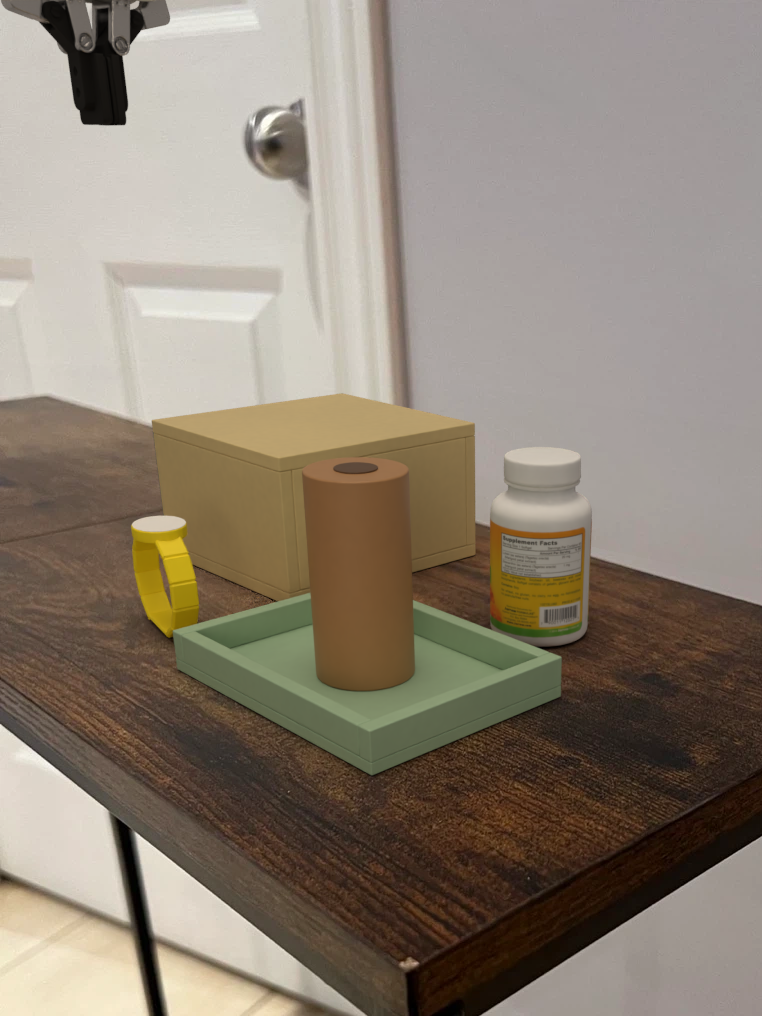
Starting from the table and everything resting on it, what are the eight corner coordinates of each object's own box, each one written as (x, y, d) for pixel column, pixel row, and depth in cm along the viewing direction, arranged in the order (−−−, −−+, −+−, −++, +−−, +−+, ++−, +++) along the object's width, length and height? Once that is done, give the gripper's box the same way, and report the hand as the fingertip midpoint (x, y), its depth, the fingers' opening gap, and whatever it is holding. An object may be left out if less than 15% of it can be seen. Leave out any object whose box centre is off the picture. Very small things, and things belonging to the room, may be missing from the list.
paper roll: (305, 689, 54) (289, 478, 50) (329, 651, 59) (316, 453, 54) (405, 694, 54) (398, 482, 50) (422, 655, 58) (417, 457, 54)
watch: (127, 617, 64) (112, 512, 61) (175, 607, 65) (162, 505, 63) (165, 651, 60) (151, 540, 57) (216, 640, 61) (204, 531, 59)
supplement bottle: (513, 608, 66) (515, 439, 62) (601, 622, 65) (609, 449, 60) (473, 639, 62) (472, 459, 58) (566, 655, 60) (572, 471, 56)
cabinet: (167, 554, 74) (150, 419, 71) (348, 513, 84) (342, 393, 80) (290, 607, 66) (278, 457, 62) (475, 555, 75) (475, 422, 72)
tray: (176, 669, 58) (171, 629, 57) (360, 613, 65) (359, 578, 64) (371, 776, 48) (369, 730, 47) (561, 696, 55) (562, 656, 55)
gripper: (143, -186, 75) (176, 129, 83) (-99, -244, 65) (-35, 120, 73) (205, -208, 70) (233, 128, 78) (-46, -273, 61) (16, 119, 68)
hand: (103, 124), depth 76 cm, fingers closed
